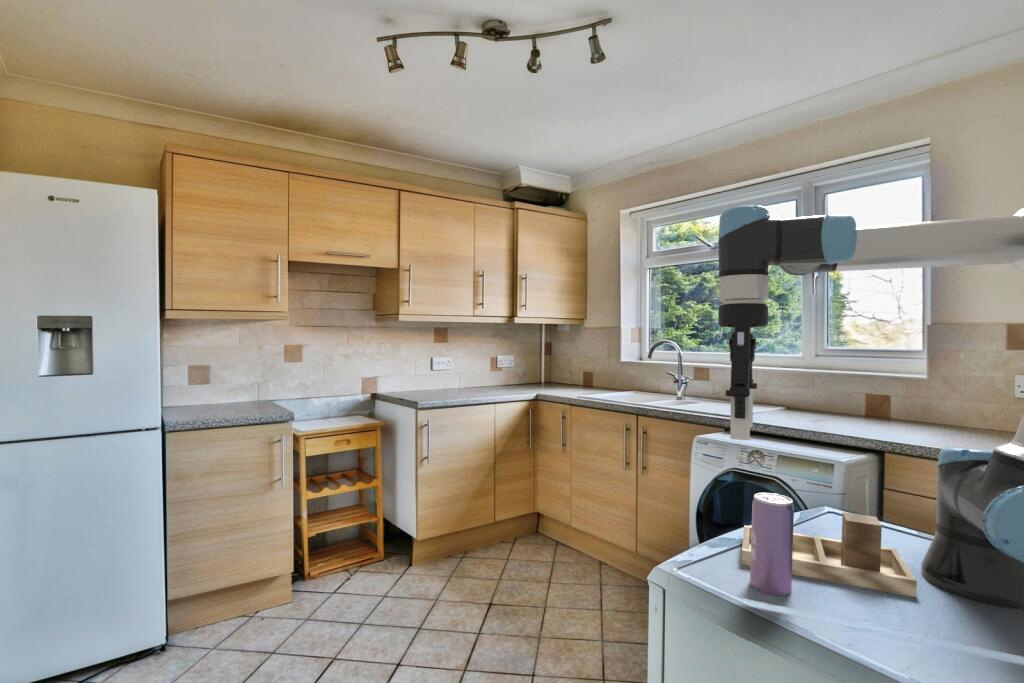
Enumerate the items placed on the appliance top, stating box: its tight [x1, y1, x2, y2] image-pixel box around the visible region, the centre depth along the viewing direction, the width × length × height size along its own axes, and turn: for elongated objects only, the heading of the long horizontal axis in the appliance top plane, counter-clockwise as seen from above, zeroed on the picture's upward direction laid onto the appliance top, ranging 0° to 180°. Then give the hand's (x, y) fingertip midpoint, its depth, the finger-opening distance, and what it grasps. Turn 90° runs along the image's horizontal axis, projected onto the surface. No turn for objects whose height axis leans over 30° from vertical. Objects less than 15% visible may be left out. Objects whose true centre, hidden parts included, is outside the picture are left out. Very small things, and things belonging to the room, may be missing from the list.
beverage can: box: [749, 492, 795, 597], centre depth 86 cm, size 6×6×15 cm
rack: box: [741, 524, 918, 598], centre depth 96 cm, size 25×14×3 cm, turn 65°
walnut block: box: [841, 512, 883, 572], centre depth 93 cm, size 5×5×9 cm
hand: (742, 432), depth 89 cm, fingers open, 13 cm apart
